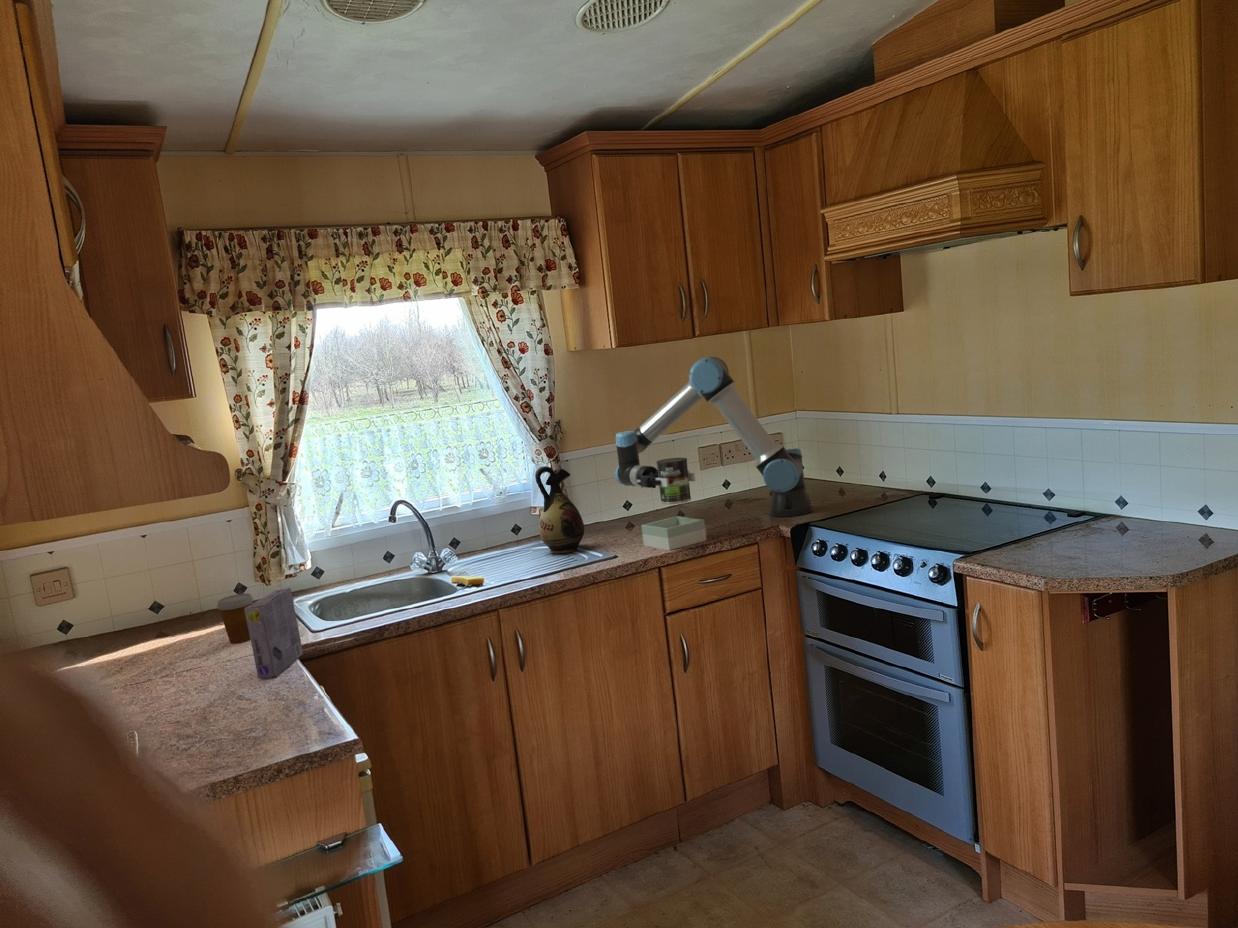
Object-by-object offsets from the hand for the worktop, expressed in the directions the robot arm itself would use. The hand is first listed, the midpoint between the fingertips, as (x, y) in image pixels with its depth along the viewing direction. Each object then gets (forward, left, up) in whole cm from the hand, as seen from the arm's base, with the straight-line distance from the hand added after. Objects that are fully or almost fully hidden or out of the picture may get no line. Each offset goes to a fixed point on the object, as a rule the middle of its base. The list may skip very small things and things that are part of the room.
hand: (680, 480), depth 313 cm
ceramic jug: (+31, -31, -21) cm, 49 cm away
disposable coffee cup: (+138, -22, -21) cm, 141 cm away
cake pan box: (+136, +16, -21) cm, 138 cm away
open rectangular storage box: (+4, -2, -21) cm, 21 cm away
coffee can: (0, -4, -8) cm, 9 cm away
